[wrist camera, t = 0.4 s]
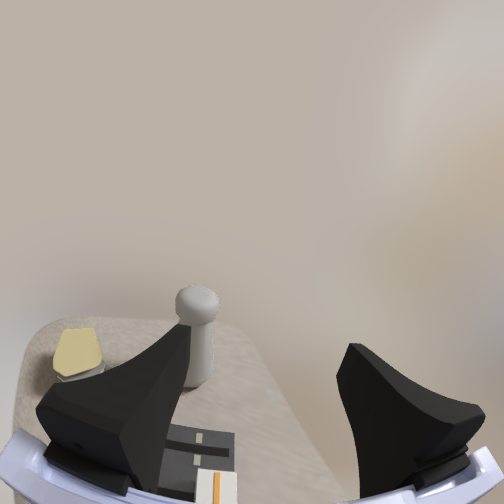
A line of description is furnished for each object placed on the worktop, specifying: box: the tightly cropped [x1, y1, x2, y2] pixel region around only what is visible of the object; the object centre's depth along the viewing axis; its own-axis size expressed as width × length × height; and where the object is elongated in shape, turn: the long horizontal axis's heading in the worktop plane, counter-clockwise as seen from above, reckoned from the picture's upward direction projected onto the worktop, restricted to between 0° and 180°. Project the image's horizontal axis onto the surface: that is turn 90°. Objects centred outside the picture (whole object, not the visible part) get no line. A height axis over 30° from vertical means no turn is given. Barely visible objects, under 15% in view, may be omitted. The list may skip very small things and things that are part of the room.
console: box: [157, 424, 234, 503], centre depth 18 cm, size 10×13×2 cm
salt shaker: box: [175, 285, 219, 388], centre depth 28 cm, size 6×6×13 cm
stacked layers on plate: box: [53, 328, 106, 382], centre depth 24 cm, size 10×9×6 cm
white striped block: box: [194, 468, 237, 504], centre depth 14 cm, size 4×3×4 cm
